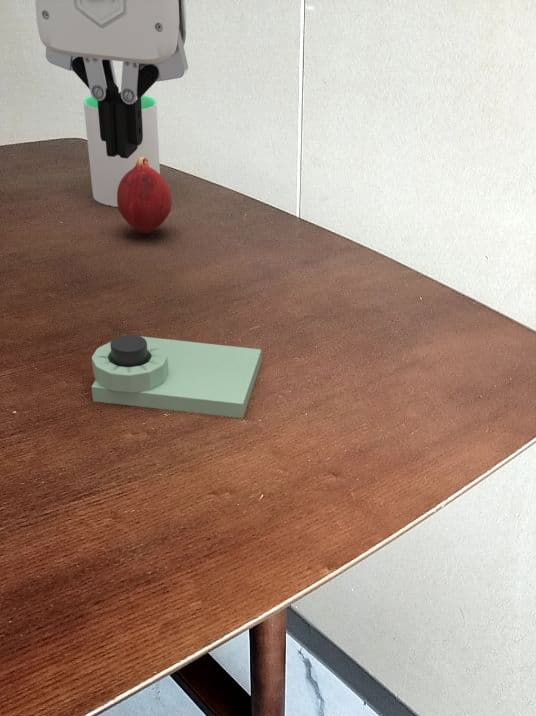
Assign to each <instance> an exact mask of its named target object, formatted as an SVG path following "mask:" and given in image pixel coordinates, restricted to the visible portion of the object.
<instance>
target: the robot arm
mask: <svg viewBox="0 0 536 716" xmlns="http://www.w3.org/2000/svg"><path fill="white" fill-rule="evenodd" d="M34 3H35V13H36V14H35V15H36V24H37V31H38V36H39V39H40V42H41V43H42V44H43V45H44V46H45V58H46V61H47V62H48V63H50V64H51V65H54V66H57V67H60V68H61V69H64V70H67V71H71V72H74V73H75V75H77V77H78V78H79V79H80V80H81V81H82V82H83V84H84V85H85V86H86V88H88V90H89V92H90V95H92V97H93V98H94V99H95V100H97V101H98V113H99V126H100V137H101V140H102V141H106V151H107V156H110V157H115V156H116V155H119V156H120V157H121V158H129V157H130V156H131V155H132V154H133V153H134V152H135V151H136V150H137V148H138V145H140V144H141V143H142V139H143V127H142V107H141V97H142V96H143V95H146V93H147V92H148V91H149V90H150V88H151V87H152V86H153V85H154V84H155V83H156V82H163V81H169V80H177V79H181V78H183V77H184V76H185V75H186V74H187V73H188V72H189V64H188V60H187V55H186V51H185V47H184V46H185V43H186V38H187V8H186V0H34ZM113 61H114V62H122V68H121V69H122V70H121V82H120V83H121V85H120V88H119V86H118V83H117V77H116V72H115V66H114V62H113ZM119 89H120V90H119ZM119 92H120V93H119Z"/></svg>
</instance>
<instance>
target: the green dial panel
mask: <svg viewBox="0 0 536 716" xmlns="http://www.w3.org/2000/svg"><path fill="white" fill-rule="evenodd" d="M139 336H140V337H143V338H144V339H145V340H146V342H147V352H148V361H147V363H146V364H144V365H142V366H135V367H120V366H117V365H115V364H113V362H112V356H111V346H110V343H111V341H110V342H108V343H107V342H106V343H105V344H103V345H101V346H99V347H98V348H96V349H95V351H94V353H93V354H92V356H91V364H92V372H93V377H94V379H95V380H94V382H93V383H92V385H91V387H90V388H91V395H92V402H97V403H105V404H115V405H124V406H132V407H141V408H148V409H149V408H150V409H157V410H165V411H167V410H168V411H177V412H185V413H192V414H193V413H195V414H201V415H202V414H203V415H210V416H211V415H212V416H218V417H219V416H220V417H227V418H228V417H229V418H237V419H244V416H245V413H246V411H247V408H248V404H249V401H250V398H251V397H252V396H251V395H252V392H253V389H254V387H255V384H256V380H257V377H258V374H259V371H260V368H261V365H262V349H260V348H251V347H243V346H232V345H223V344H214V343H205V342H195V341H186V340H179V339H178V340H177V339H171V338H170V339H169V338H159V337H149V336H142V335H139Z"/></svg>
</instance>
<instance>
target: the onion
mask: <svg viewBox="0 0 536 716" xmlns="http://www.w3.org/2000/svg"><path fill="white" fill-rule="evenodd" d="M117 204H118V207H117V208H118V211H119V214H120V215H121V217H122V218H123V219H124V220H125V221H126V222H127V223H128V225H130V226H131V227H132V228H133V229H135V230H137V231H138V232H140V233H141V234H143V235H149V234H151V233H153V232H154V230H156V229H157V228H159V227H160V226H161V225H163V223H164V222H165V220H166V219H167V218H168V216H169V215H170V213H171V210H172V204H173V203H172V194H171V190H170V188H169V185H168V183H167V181H166V180H165V178H164V177H163V175H162V174H161V173H160V174H159V173H158V172H157V171H155V170H154V169H152V168H151V167H149V165H148V159H146V158H145V157H143V156H142V157H140V158H138V160H137V163H136V166H135V167H134V168H133V169H132V170H130V171H129V172H128V173H126V174H125V176H124V177H123V178H122V180H121V181H120V184H119V186H118V191H117Z"/></svg>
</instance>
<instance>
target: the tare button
mask: <svg viewBox="0 0 536 716" xmlns="http://www.w3.org/2000/svg"><path fill="white" fill-rule="evenodd" d="M140 336H141V335H138V334H137V335H136V334H122V335H117V336H116V337H114V338H113V339H112V340H110V342H111V343H110V342H109V343H110V346H111V356H112V362H113V364H115V365H117V366H120V367H135V366H142V365H144V364H146V363H147V361H148V352H147V342H146V340H145V339H144V338H143V337H144V336H142V337H140Z"/></svg>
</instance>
